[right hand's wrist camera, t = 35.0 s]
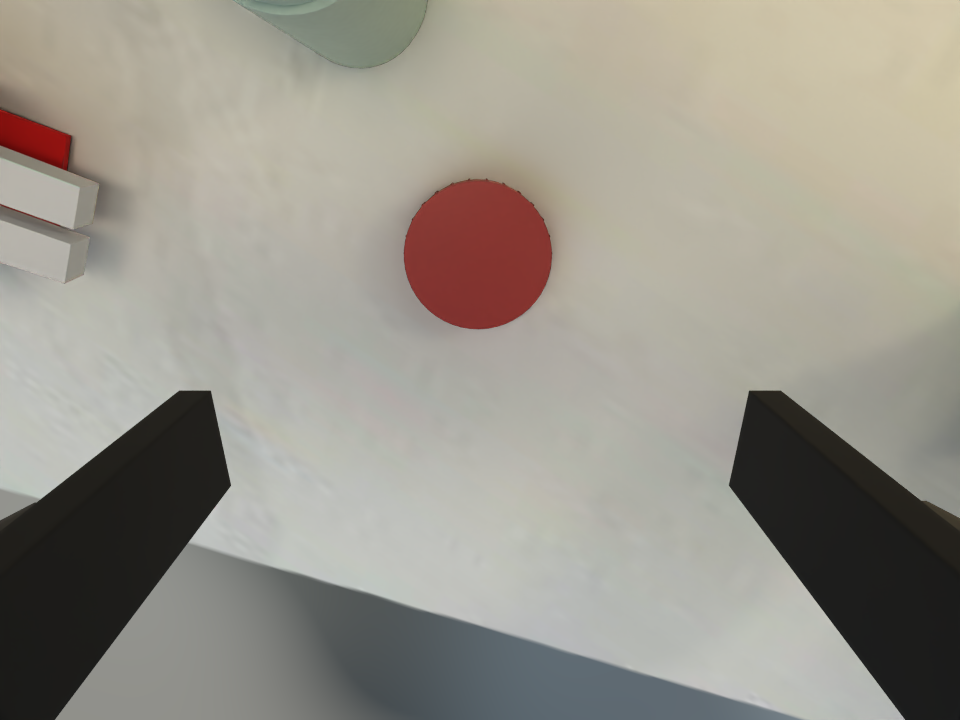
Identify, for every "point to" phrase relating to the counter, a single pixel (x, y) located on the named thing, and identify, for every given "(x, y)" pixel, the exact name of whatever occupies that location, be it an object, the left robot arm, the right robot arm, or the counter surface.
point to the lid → (477, 254)
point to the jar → (346, 26)
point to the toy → (42, 201)
